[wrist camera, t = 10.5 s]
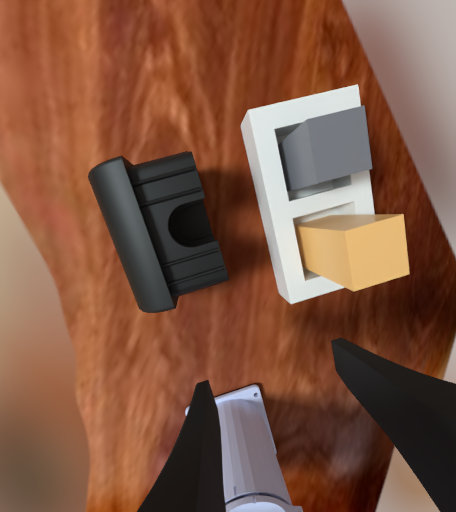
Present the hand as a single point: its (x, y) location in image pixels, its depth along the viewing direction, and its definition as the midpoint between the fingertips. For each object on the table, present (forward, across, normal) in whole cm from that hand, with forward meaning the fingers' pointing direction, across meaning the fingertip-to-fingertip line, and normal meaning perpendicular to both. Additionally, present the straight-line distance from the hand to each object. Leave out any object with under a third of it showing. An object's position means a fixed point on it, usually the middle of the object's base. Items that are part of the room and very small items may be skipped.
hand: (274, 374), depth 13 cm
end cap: (+11, +5, -8) cm, 15 cm away
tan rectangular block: (+10, -8, -4) cm, 14 cm away
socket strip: (+11, -8, -7) cm, 16 cm away
